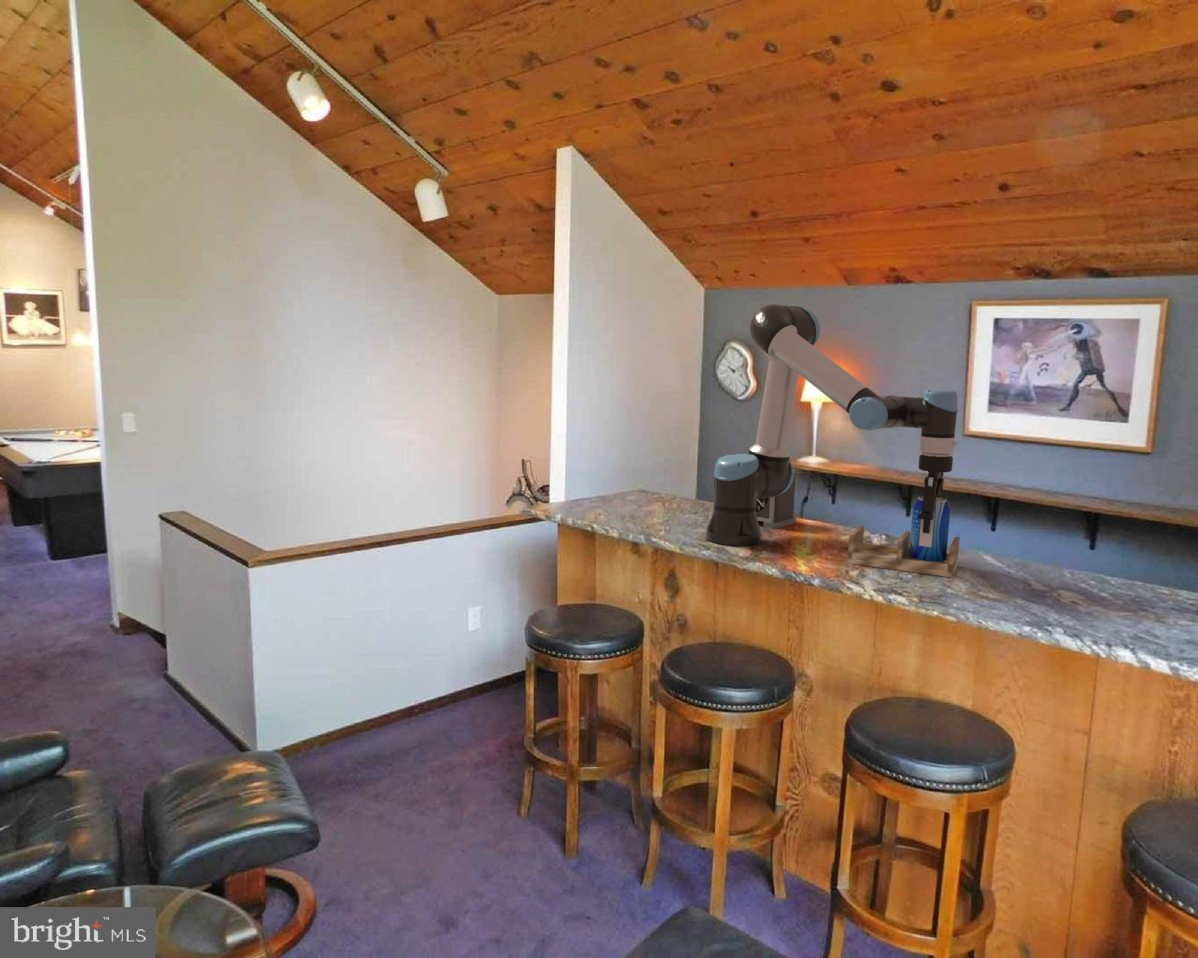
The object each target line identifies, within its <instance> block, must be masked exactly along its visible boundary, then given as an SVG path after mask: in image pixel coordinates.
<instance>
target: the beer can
mask: <svg viewBox="0 0 1198 958" xmlns="http://www.w3.org/2000/svg"><path fill="white" fill-rule="evenodd" d="M916 500H917V501H916V502H915V503H914V504H913V506H912V516H911V527H910V528H911V529H910V532H911V533H910V546H909V548H910V551H909V557H910V558H911V560H918V561H926V562H933V563H941V564H943V562H944V561H945V560H946V554H947V553H948V542H949V541H948V540H949V529H950V517H951V516H950V515H951V508H950V506H949V505H948V504H949V503H948V499H946V498H944V497H942V498H940V497H936V503H935V509H934V515H933V520H934V523H933V535H932V547H926V546H919V539H920V527H921V519H918V515H920V514H921V509H922V502H923V495H922V496H918V497H917V499H916Z"/></svg>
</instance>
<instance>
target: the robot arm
mask: <svg viewBox="0 0 1198 958" xmlns="http://www.w3.org/2000/svg"><path fill="white" fill-rule="evenodd" d="M749 333H750V337H751V339H752V341H753V342H754V344H755V345H756V346H757V347H758V348H760V349H761V350H762V351H763V352H764V355H766V357H767V358H768V365H767V372H766V378H765V383H764V391H763V396H762V403H761V408H760V415H759V420H758V428H757V431H756V438H755V443H754V444H753V445H751V446H750V447H749V448H748V454H747V453H736V454H727V455H724V456H721V457H719V458H718V459H717V460H716V462H715V466H714V467H715V468H714V472H713V475H714V484H713V487H714V488H713V508H712V509H713V510H712V511H713V512H712V514H711V517H710V519H709V522H708V525H707V528H706V530H705V531H706V532H705V539H706V540H707V541H708V542H712V543H714V544H718V545H725V546H751V545H756V544H757V545H758V544H759V543H761V541H762V532H761V527H760V525H759V521H758V520H757V516H756V499H761V498H769V497H775V496H777V495H780V494H782V493H784V492H786V491H787V490H788V489H789V488H790V486H791V484H792V482H793V479H794V469H795V468H794V467H793V466H792V462H791V461H790V458H791V454H790V452H789V451H788V449H787V442H788V437H789V431H790V427H791V426H790V425H791V421H792V415H793V411H794V403H795V398H796V393H797V385H798V382H799V381H798V380H799V377H800V376H801V377H802V378H804V380H806V381H807V382H809V383H810V384H811V385H812V386H813V387H815V388H816V389H817V390H818V391H819V392H821V393H822V394H823V395H825V396H826V398H828V399H830V400H831V401H832V402H833V403H835V404H836V405H837V406H839V407H840V408H841V409H842V410H843V411H845V413H847V414H848V415H849V420H850V421H851V423H852V425H853V426H854V427H855V428H857V429H860V430H866V431H874V430H879V429H889V428H890V429H891V428H912V429H913V428H914V429H921V430H920V432H921V433H920V438H919V439H920V440H919V452H920V453H921V454H920V455H918V456H919V457H918V470H920V471H924V472H928V474H927V476H926V477H925V478H924V481H923V482H924V483H923V484H924V488H923V495H922V496H923V502H922V509H921V514H920V515H918V519H921V527H920V539H919V546H926V547H932V535H933V523H934V520H933V515H934V509H935V503H936V497H940V498H943V490H944V489H943V488H944V482H945V479H944V473H951V472H952V471H953V465H954V464H953V462H954V458H953V456H952V455H953V454H954V447H955V446H957V445H958V442H957V441H955V436H956V426H957V418H958V417H957V416H958V411H959V409H958V403H959V402H958V400H959V399H958V397H959V395H958V394H957V392H956V391H954V390H948V389H926V390H925V391H924V393H923V396H920V397H916V396H915V397H913V396H900V395H899V396H898V395H881V396H879V395H878V394H877V393H876V392H874V391H873V390H871V389H870V388H869V387H868V386H867V385H865V384H864V383H862V382H861V381H860V380H859V379H857V378H856V377H855V376H853V375H852V374H851V373H849V372H848V371H847V370H846V369H844V368H843V367H841V366H840V365H839V364H838V363H836V362H835V361H834V360H833V359H831V358H830V357H829V356H827V355H826V354H824V352H822V351H821V350H820V349H818V348H817V347H815V346H814V345H816V343H817V342H818V340H819V337H820V334H821V327H820V322H819V318H818V317H817V316H816V315H815V314H814V312H812V310H810V309H808V308H805V307H801V306H798V305H785V304H784V305H783V304H782V305H781V304H775V303H774V304H773V303H771V304H766V305H764V306H762V307H760V308H758V310H757V311H756V312H755V313H754V314H753V315H752V317H751V320H750V323H749ZM799 375H800V376H799Z"/></svg>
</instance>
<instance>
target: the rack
mask: <svg viewBox="0 0 1198 958" xmlns="http://www.w3.org/2000/svg"><path fill="white" fill-rule="evenodd" d="M864 531H865V526H864V525H859V526H858V527H857V528H855V529H854V530H853V531H852V532H851V533H850V534H848V545H847V546H848V548H847V560H846V561H847V562H846V564H852V565H858V566H860V565H861V566H865V567H866V566H867V567H874V568H881V569H889V570H896V571H901V572H903V571H904V572H911V573H917V574H926V575H932V576H941V577H947V578H952V577H953V575H954V573H955V571H956V570H957V567H958V561H959V549H960V540H961V537H960V536H955V537H954V538H953V540H952V541H951V544H950V545H949V547H948V548H949V549H948V550H949V551H948V552H947V554H946V560H945V561H944V562H943V564H941V563H933V562H926V561H918V560H911V558H910V557H909V551H910V538H911V530H910V531H908V530H906V531H905V532H904V533H903V534H902V535H901V536H900V537H899V539H898V540H897V546H893V545H885V544H877V543H868V542H864V534H865V533H864Z"/></svg>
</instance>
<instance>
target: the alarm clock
mask: <svg viewBox="0 0 1198 958" xmlns="http://www.w3.org/2000/svg"><path fill="white" fill-rule="evenodd" d="M793 469H794V479H793V482H792V484H791V486H790V488H789V489H788V490H787V491H786V492H784V493H782V494H780V495H777V496H775V497H769V498H761V499H756V516H757V520H758V522H759V521H760V522H763V524H762V526H763V527H764V528H770V529H779V528H783V527H786V526H790V525H793V524H796V521H797V518H796V516H794V510H795V509H794V508H795V507H794V506H795V492H796V469H795V468H793Z"/></svg>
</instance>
